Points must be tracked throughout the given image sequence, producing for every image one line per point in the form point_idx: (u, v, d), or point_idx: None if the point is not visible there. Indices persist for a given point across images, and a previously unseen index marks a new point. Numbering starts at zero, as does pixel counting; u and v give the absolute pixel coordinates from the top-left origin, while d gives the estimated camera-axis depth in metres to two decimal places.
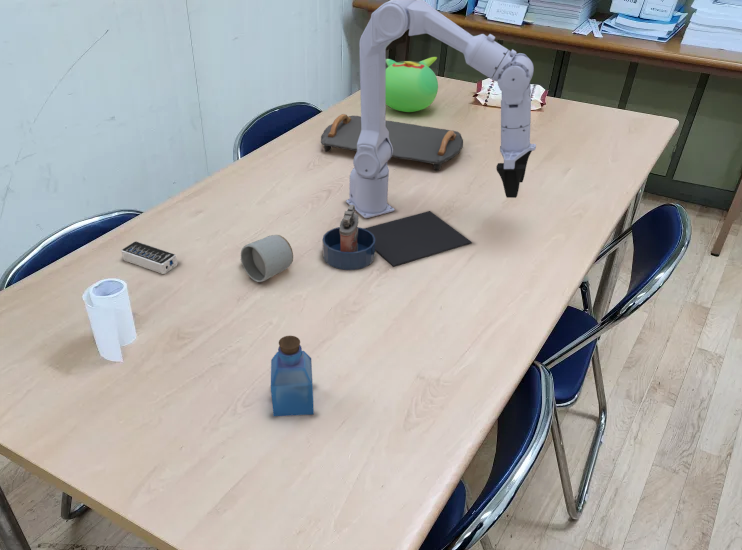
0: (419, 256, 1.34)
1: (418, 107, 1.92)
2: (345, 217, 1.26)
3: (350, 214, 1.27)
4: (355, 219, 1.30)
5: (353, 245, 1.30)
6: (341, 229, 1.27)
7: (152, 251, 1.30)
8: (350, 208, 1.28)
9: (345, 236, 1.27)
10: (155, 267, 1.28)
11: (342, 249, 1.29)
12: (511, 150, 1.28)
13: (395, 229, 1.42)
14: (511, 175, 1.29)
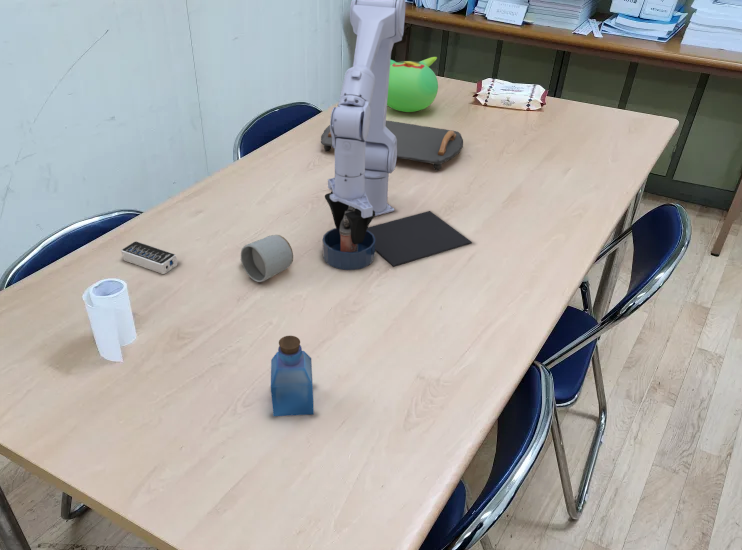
0: (419, 256, 1.34)
1: (418, 107, 1.92)
2: (345, 217, 1.26)
3: None
4: None
5: (353, 245, 1.30)
6: (341, 229, 1.27)
7: (152, 251, 1.30)
8: (350, 208, 1.28)
9: (345, 236, 1.27)
10: (155, 267, 1.28)
11: (342, 249, 1.29)
12: None
13: (395, 229, 1.42)
14: None
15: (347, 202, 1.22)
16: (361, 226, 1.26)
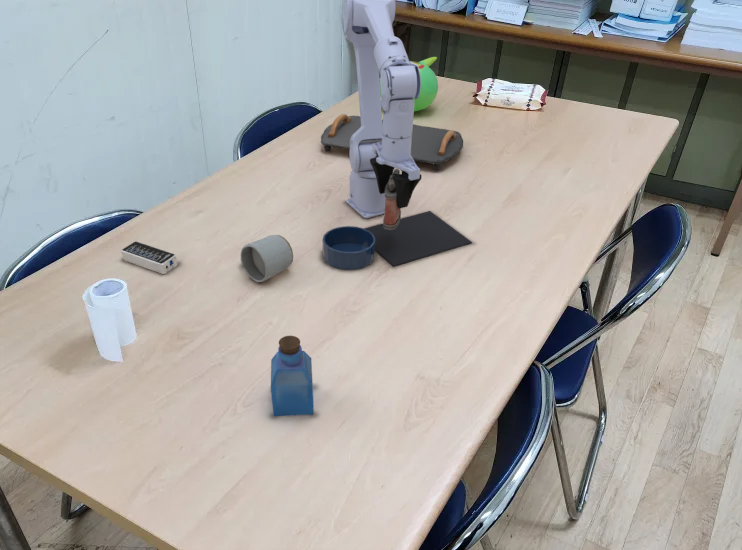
0: (419, 256, 1.34)
1: (418, 107, 1.92)
2: (391, 181, 1.26)
3: None
4: None
5: (397, 210, 1.31)
6: (386, 193, 1.27)
7: (152, 251, 1.30)
8: (395, 172, 1.29)
9: (390, 200, 1.27)
10: (155, 267, 1.28)
11: (386, 213, 1.30)
12: None
13: (395, 229, 1.42)
14: None
15: (394, 164, 1.23)
16: (407, 190, 1.26)
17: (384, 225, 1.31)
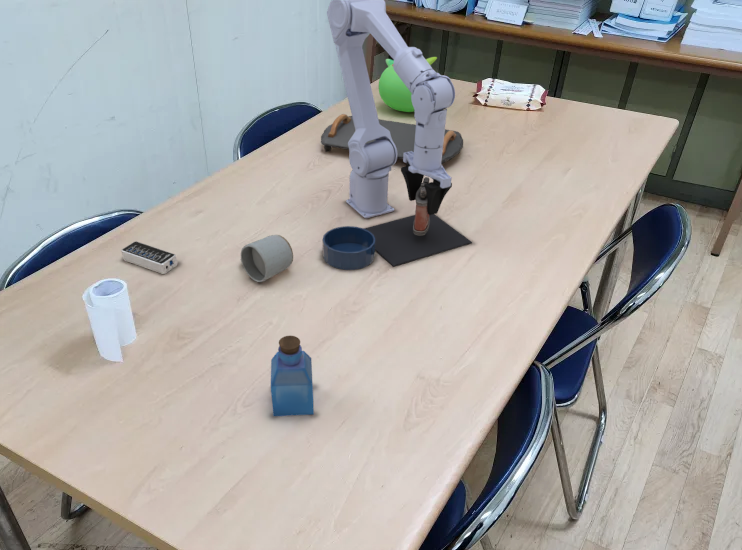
0: (419, 256, 1.34)
1: None
2: (422, 188, 1.32)
3: None
4: None
5: (427, 216, 1.36)
6: (418, 200, 1.32)
7: (152, 251, 1.30)
8: (425, 180, 1.34)
9: (421, 207, 1.32)
10: (155, 267, 1.28)
11: (417, 220, 1.35)
12: None
13: (395, 229, 1.42)
14: None
15: (426, 173, 1.28)
16: (438, 197, 1.31)
17: (414, 231, 1.37)
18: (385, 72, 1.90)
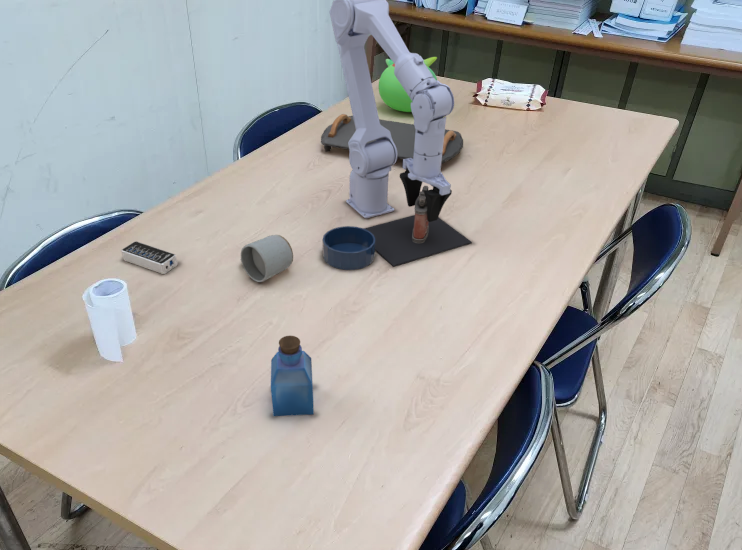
0: (419, 256, 1.34)
1: None
2: (421, 197, 1.33)
3: None
4: None
5: (426, 224, 1.37)
6: (417, 208, 1.34)
7: (152, 251, 1.30)
8: (424, 189, 1.35)
9: (420, 215, 1.34)
10: (155, 267, 1.28)
11: (416, 228, 1.36)
12: None
13: (395, 229, 1.42)
14: None
15: (425, 180, 1.29)
16: (437, 204, 1.32)
17: (413, 239, 1.38)
18: (385, 72, 1.90)
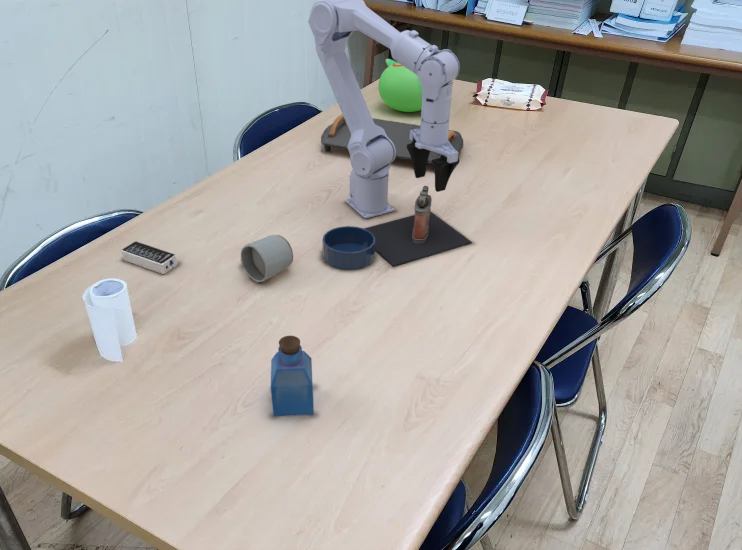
0: (419, 256, 1.34)
1: (418, 107, 1.92)
2: (421, 197, 1.33)
3: (425, 194, 1.33)
4: (428, 199, 1.37)
5: (426, 224, 1.37)
6: (417, 208, 1.34)
7: (152, 251, 1.30)
8: (424, 189, 1.35)
9: (420, 215, 1.34)
10: (155, 267, 1.28)
11: (416, 228, 1.36)
12: None
13: (395, 229, 1.42)
14: None
15: (433, 149, 1.28)
16: (445, 173, 1.32)
17: (413, 239, 1.38)
18: (385, 72, 1.90)
